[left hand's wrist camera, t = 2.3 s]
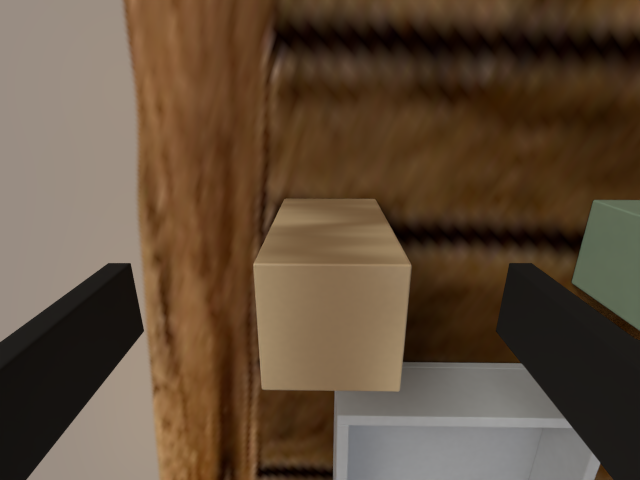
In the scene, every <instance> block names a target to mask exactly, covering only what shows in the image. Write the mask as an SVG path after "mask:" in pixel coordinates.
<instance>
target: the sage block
mask: <svg viewBox="0 0 640 480" xmlns="http://www.w3.org/2000/svg"><path fill="white" fill-rule="evenodd" d="M572 283H573V284H574V285H575V286H577V287H578V288H580V289H581V290H582V291H584V292H585V293H587V294H588V295H590V296H591V297H592V298H594V299H595V300H597V301H598V302H600V303H601V304H602V305H604V306H605V307H607V308H608V309H609V310H611V311H612V312H614V313H615V314H617V315H618V316H619V317H621V318H622V319H624V320H625V321H627V322H628V323H629V324H631V325H632V326H634V327H635V328H637V329H638V330H639V331H640V200H594V201H593V203H592V207H591V211H590V215H589V218H588V222H587V226H586V230H585V233H584V237H583V241H582V245H581V248H580V252H579V256H578V260H577V264H576V267H575V271H574V275H573V279H572Z"/></svg>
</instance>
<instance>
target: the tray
mask: <svg viewBox="0 0 640 480" xmlns="http://www.w3.org/2000/svg"><path fill="white" fill-rule="evenodd" d="M599 465H600V462H599V460H598V459H597V458H596V457H595V455H594V454H593V453H592V452H591V450H590V449H589V448H588V447H587V445H586V444H585V443H584V442H583V440H582V439H581V438H580V437H579V435H578V434H577V433H576V431H575V430H574V429H573V428H572V426H571V425H570V424H569V423H568V421H567V420H566V419H565V418H564V416H563V415H562V414H561V413H560V411H559V410H558V409H557V407H556V406H555V405H554V404H553V402H552V401H551V400H550V399H549V397H548V396H547V395H546V394H545V392H544V391H543V390H542V389H541V387H540V386H539V385H538V383H537V382H536V381H535V380H534V378H533V377H532V376H531V375H530V373H529V372H528V371H527V370H526V368H525V367H524V366H523V365H522V363H443V362H403V365H402V375H401V386H400V391H398V392H393V391H335V401H334V458H333V480H594V479H595V476H596V473H597V471H598V468H599Z"/></svg>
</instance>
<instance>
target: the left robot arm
mask: <svg viewBox="0 0 640 480" xmlns="http://www.w3.org/2000/svg"><path fill="white" fill-rule="evenodd" d="M143 332H144V329H143V324H142V319H141V313H140V309H139V303H138V298H137V293H136V288H135V283H134V278H133V273H132V268H131V264H130V263H108V264H107V265H105V266H104V267H103V268H101V269H100V270H99V271H97V272H96V273H94V274H93V275H92V276H90V277H89V278H88V279H86V280H85V281H84V282H82V283H81V284H79V285H78V286H77V287H75V288H74V289H73V290H71V291H70V292H68V293H67V294H66V295H64V296H63V297H62V298H60V299H59V300H58V301H56V302H55V303H53V304H52V305H51V306H49V307H48V308H47V309H45V310H44V311H43V312H41V313H40V314H38V315H37V316H36V317H34V318H33V319H31V320H30V321H29V322H27V323H26V324H25V325H23V326H22V327H20V328H19V329H18V330H16V331H15V332H14V333H12V334H11V335H10V336H8V337H7V338H5V339H4V340H3V341H1V342H0V480H26V479H27V478H28V477H29V476H30V474H31V473H32V472H33V471H34V469H35V468H36V467H37V466H38V464H39V463H40V462H41V460H42V459H43V458H44V457H45V455H46V454H47V453H48V452H49V450H50V449H51V448H52V447H53V445H54V444H55V443H56V441H57V440H58V439H59V438H60V436H61V435H62V434H63V433H64V431H65V430H66V429H67V428H68V426H69V425H70V424H71V423H72V421H73V420H74V419H75V418H76V416H77V415H78V414H79V412H80V411H81V410H82V409H83V407H84V406H85V405H86V404H87V402H88V401H89V400H90V399H91V397H92V396H93V395H94V394H95V392H96V391H97V390H98V388H99V387H100V386H101V385H102V383H103V382H104V381H105V380H106V378H107V377H108V376H109V375H110V373H111V372H112V371H113V370H114V368H115V367H116V366H117V364H118V363H119V362H120V361H121V359H122V358H123V357H124V356H125V354H126V353H127V352H128V351H129V349H130V348H131V347H132V346H133V344H134V343H135V342H136V341H137V339H138V338H139V337H140V335H141V334H142V333H143ZM496 332H497V333H498V334H499V335H500V337H501V338H502V339H503V341H504V342H505V343H506V344H507V346H508V347H509V348H510V349H511V351H512V352H513V353H514V354H515V356H516V357H517V358H518V359H519V361H520V362H521V363H522V365H523V366H524V367H525V368H526V370H527V371H528V372H529V373H530V375H531V376H532V377H533V378H534V380H535V381H536V382H537V383H538V385H539V386H540V387H541V389H542V390H543V391H544V392H545V394H546V395H547V396H548V397H549V399H550V400H551V401H552V402H553V404H554V405H555V406H556V407H557V409H558V410H559V411H560V413H561V414H562V415H563V416H564V418H565V419H566V420H567V421H568V423H569V424H570V425H571V426H572V428H573V429H574V430H575V431H576V433H577V434H578V435H579V437H580V438H581V439H582V440H583V442H584V443H585V444H586V445H587V447H588V448H589V449H590V450H591V452H592V453H593V454H594V455H595V457H596V458H597V459H598V460H599V462H600V463H601V464H602V466H603V467H604V468H605V469H606V471H607V472H608V473H609V474H610V476H611V477H612V478H613V479H614V480H640V340H638V339H635V338H633V337H632V336H630V335H629V334H628V333H626V332H625V331H624V330H622V329H621V328H620V327H618V326H617V325H615V324H614V323H613V322H611V321H610V320H609V319H607V318H606V317H604V316H603V315H602V314H600V313H599V312H598V311H596V310H595V309H593V308H592V307H591V306H589V305H588V304H587V303H585V302H584V301H583V300H581V299H580V298H578V297H577V296H576V295H574V294H573V293H572V292H570V291H569V290H567V289H566V288H565V287H563V286H562V285H561V284H559V283H558V282H557V281H555V280H554V279H552V278H551V277H550V276H548V275H547V274H546V273H544V272H543V271H541V270H540V269H539V268H537V267H536V266H535V265H533V264H532V263H509V268H508V273H507V278H506V283H505V288H504V293H503V298H502V303H501V308H500V313H499V318H498V324H497V329H496Z"/></svg>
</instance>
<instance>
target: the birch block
mask: <svg viewBox="0 0 640 480" xmlns="http://www.w3.org/2000/svg"><path fill="white" fill-rule="evenodd" d="M253 269H254V283H255V298H256V312H257V326H258V341H259V355H260V370H261V384H262V389H263V390H313V391H393V392H398V391H400V386H401V375H402V365H403V354H404V344H405V333H406V323H407V312H408V302H409V291H410V281H411V270H412V265H411V263H410V261H409V259H408V258H407V256H406V254H405V252H404V250H403V248H402V247H401V245H400V243H399V241H398V239H397V238H396V236H395V234H394V232H393V230H392V228H391V227H390V225H389V223H388V221H387V219H386V218H385V216H384V214H383V212H382V210H381V209H380V207H379V205H378V203H377V201H376V199H284V201H283V203H282V205H281V207H280V209H279V212H278V214H277V216H276V218H275V220H274V222H273V224H272V226H271V228H270V230H269V233H268V235H267V237H266V239H265V241H264V243H263V245H262V247H261V249H260V252H259V254H258V256H257V258H256V260H255V262H254V264H253Z"/></svg>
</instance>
